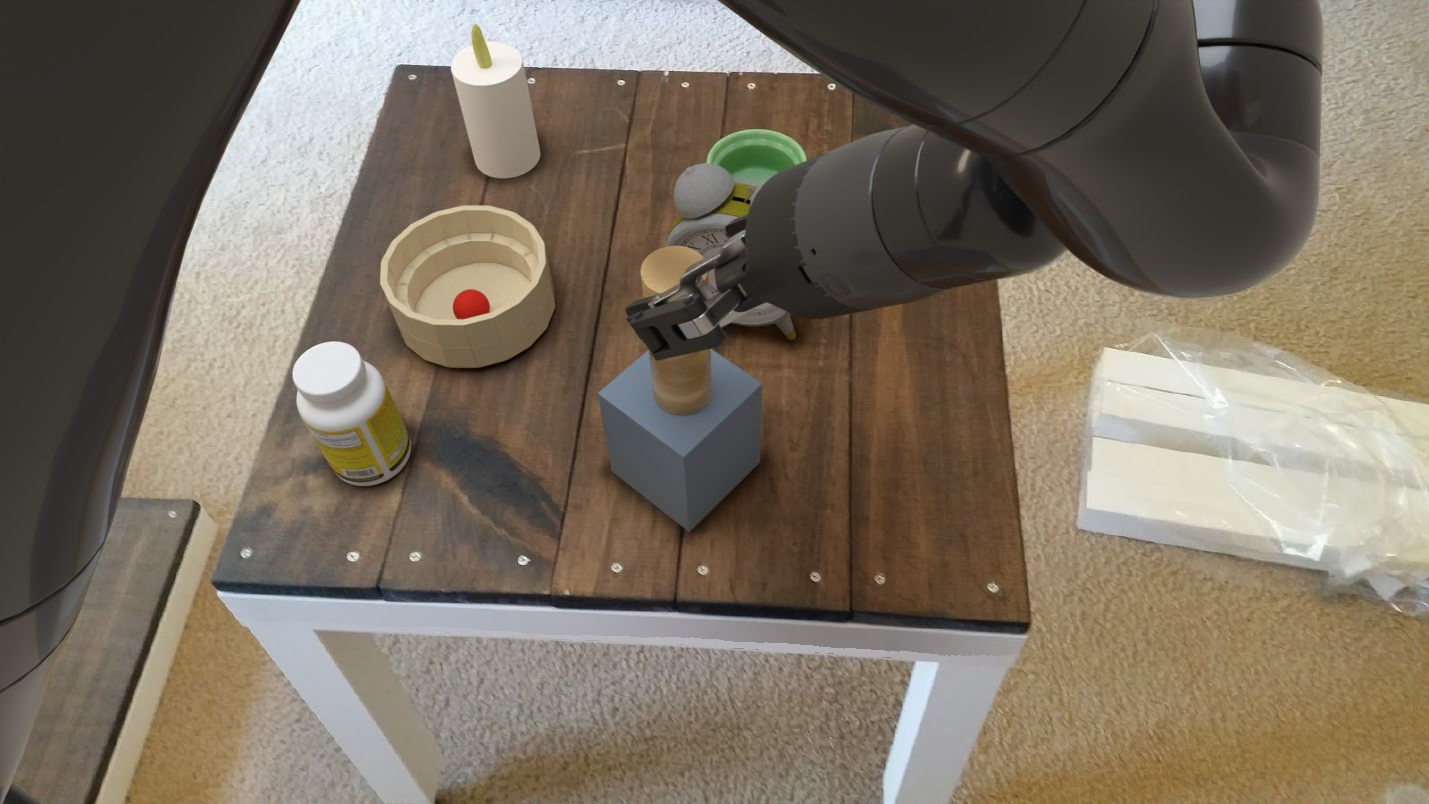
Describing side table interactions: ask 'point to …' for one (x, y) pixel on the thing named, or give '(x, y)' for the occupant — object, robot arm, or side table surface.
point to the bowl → (468, 285)
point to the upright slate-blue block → (683, 439)
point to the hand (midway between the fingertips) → (688, 279)
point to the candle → (496, 107)
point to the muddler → (688, 376)
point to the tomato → (470, 304)
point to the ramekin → (756, 154)
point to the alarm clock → (717, 225)
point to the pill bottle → (350, 414)
